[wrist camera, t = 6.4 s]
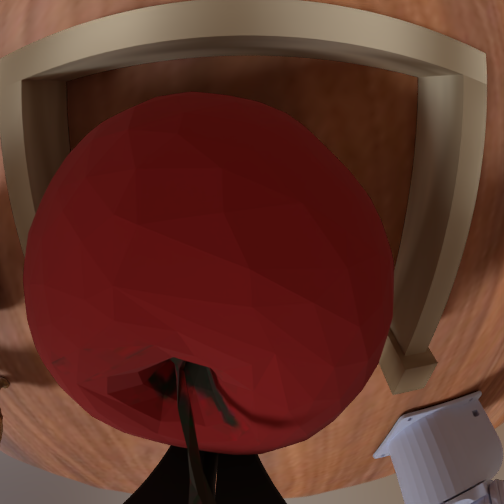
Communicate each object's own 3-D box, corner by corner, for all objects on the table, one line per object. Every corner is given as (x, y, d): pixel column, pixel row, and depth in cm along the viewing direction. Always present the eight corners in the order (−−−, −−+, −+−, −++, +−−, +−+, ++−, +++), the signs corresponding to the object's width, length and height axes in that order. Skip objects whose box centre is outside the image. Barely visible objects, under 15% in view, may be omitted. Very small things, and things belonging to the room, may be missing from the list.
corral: (445, 60, 9) (505, 56, 5) (397, 338, 15) (423, 387, 12) (39, 64, 8) (-20, 61, 5) (93, 342, 15) (68, 393, 11)
